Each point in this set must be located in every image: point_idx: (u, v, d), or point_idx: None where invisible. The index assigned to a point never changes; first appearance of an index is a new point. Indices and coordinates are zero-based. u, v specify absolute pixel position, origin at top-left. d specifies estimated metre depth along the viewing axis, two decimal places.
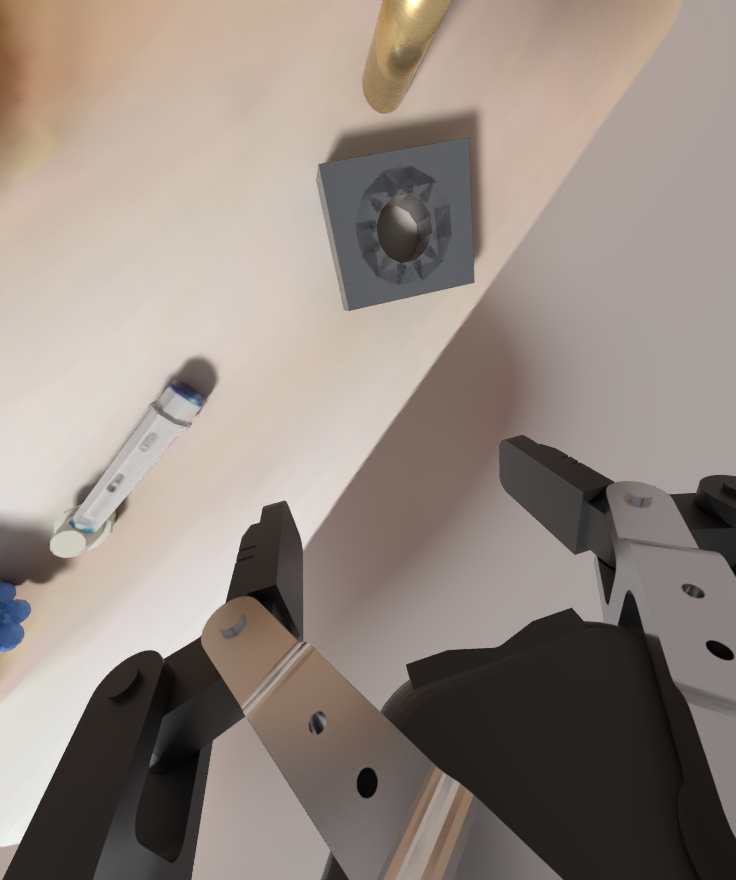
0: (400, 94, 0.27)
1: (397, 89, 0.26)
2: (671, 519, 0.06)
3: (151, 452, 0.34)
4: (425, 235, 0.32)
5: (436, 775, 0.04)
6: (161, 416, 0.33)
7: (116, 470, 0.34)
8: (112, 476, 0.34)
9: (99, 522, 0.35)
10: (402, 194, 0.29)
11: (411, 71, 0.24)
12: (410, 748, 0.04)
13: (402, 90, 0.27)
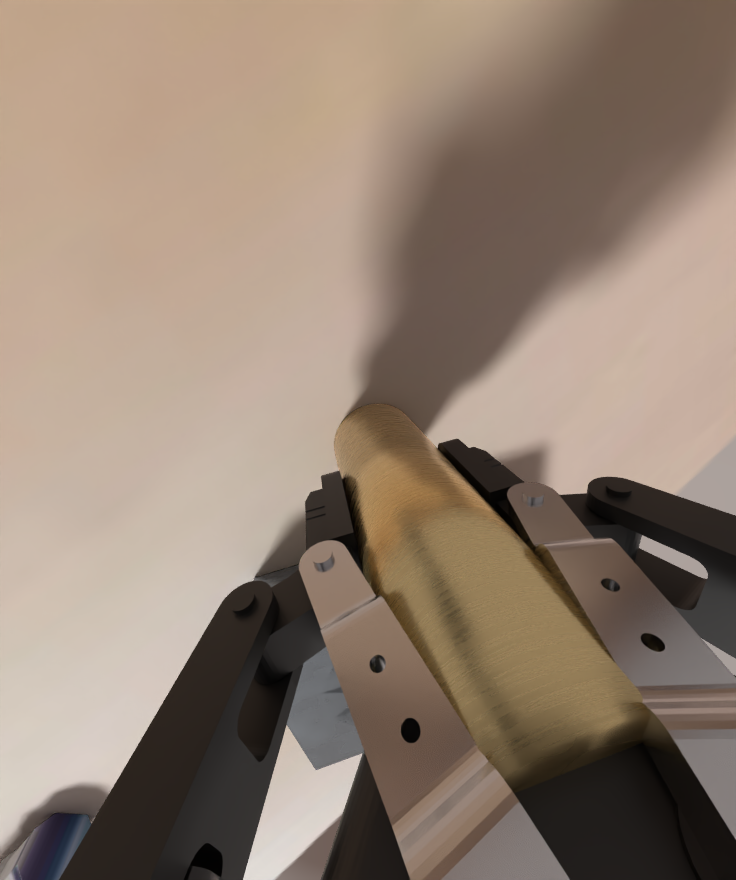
0: None
1: None
2: (552, 517, 0.07)
3: None
4: None
5: (477, 756, 0.04)
6: None
7: None
8: None
9: None
10: None
11: None
12: (457, 721, 0.04)
13: None
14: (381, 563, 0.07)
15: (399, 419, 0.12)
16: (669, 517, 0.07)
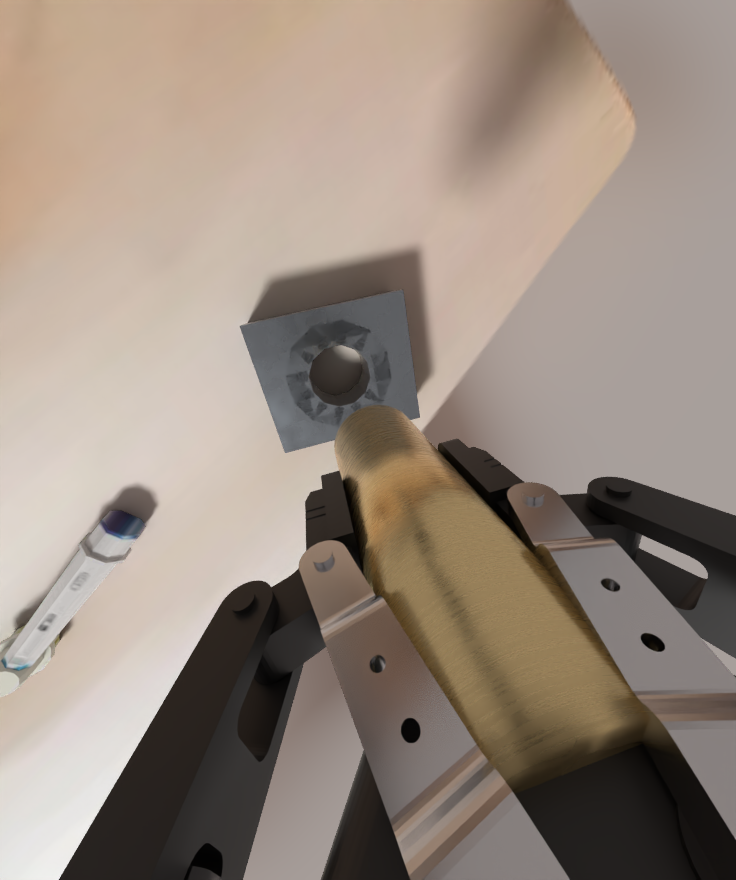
0: None
1: None
2: (552, 517, 0.07)
3: (83, 590, 0.32)
4: (366, 372, 0.31)
5: (477, 756, 0.04)
6: (90, 557, 0.31)
7: (47, 610, 0.32)
8: (42, 616, 0.32)
9: (34, 657, 0.34)
10: (334, 345, 0.27)
11: None
12: (457, 722, 0.04)
13: None
14: (381, 565, 0.07)
15: (399, 420, 0.12)
16: (669, 517, 0.07)
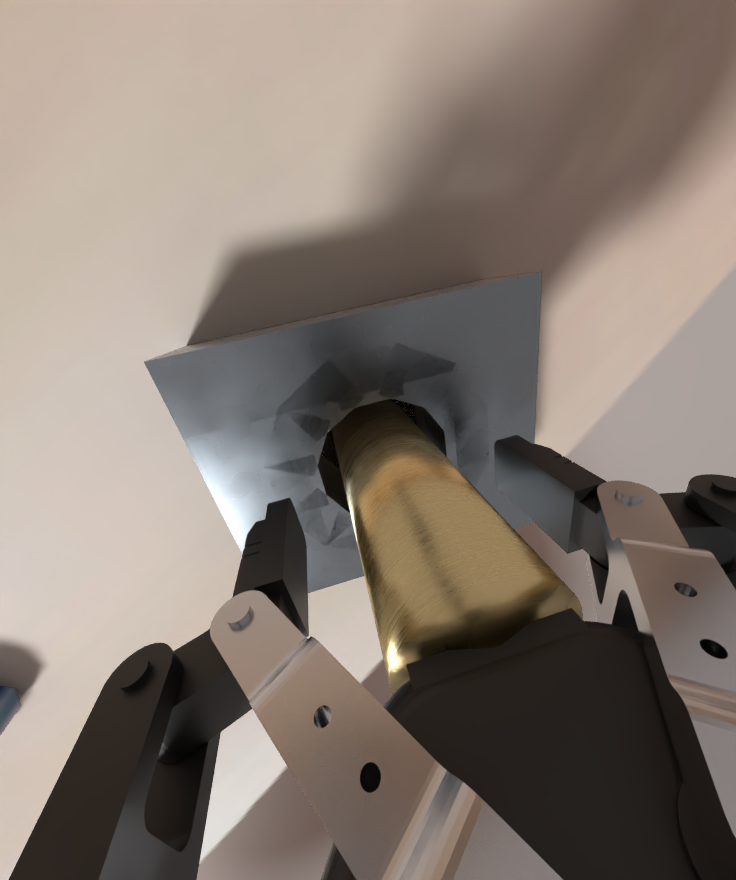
0: None
1: None
2: (660, 518, 0.07)
3: None
4: None
5: (439, 773, 0.04)
6: None
7: None
8: None
9: None
10: (377, 400, 0.12)
11: None
12: (413, 745, 0.04)
13: None
14: (366, 510, 0.09)
15: (388, 405, 0.14)
16: None
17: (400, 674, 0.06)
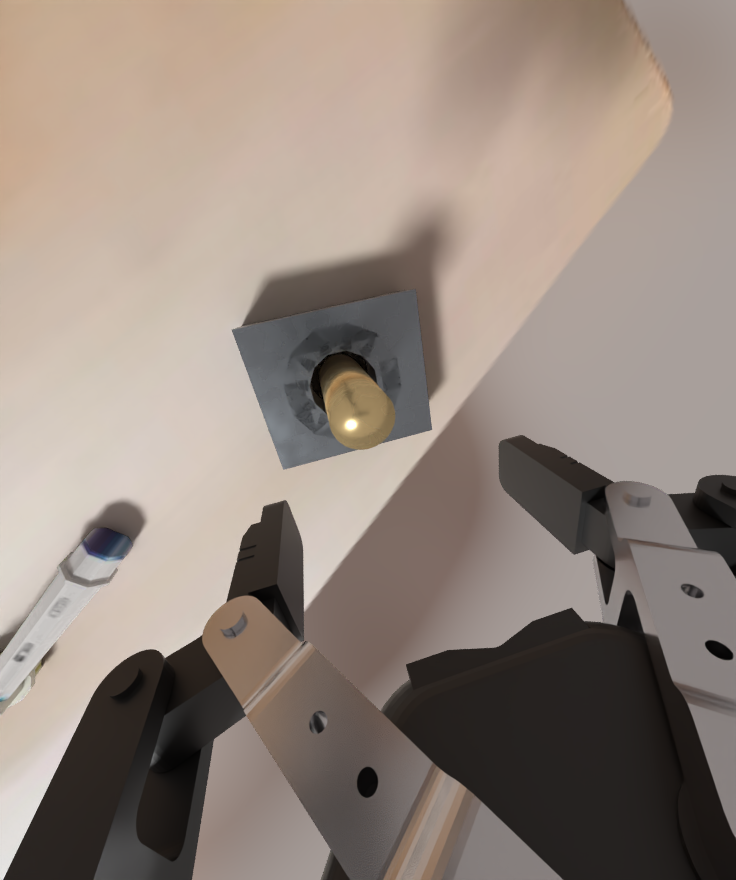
0: None
1: None
2: (670, 519, 0.07)
3: (63, 617, 0.29)
4: None
5: (436, 774, 0.04)
6: (71, 581, 0.28)
7: (23, 639, 0.29)
8: (18, 646, 0.29)
9: (10, 690, 0.31)
10: (338, 351, 0.24)
11: None
12: (410, 747, 0.04)
13: None
14: (328, 388, 0.21)
15: (348, 358, 0.27)
16: None
17: (332, 421, 0.18)
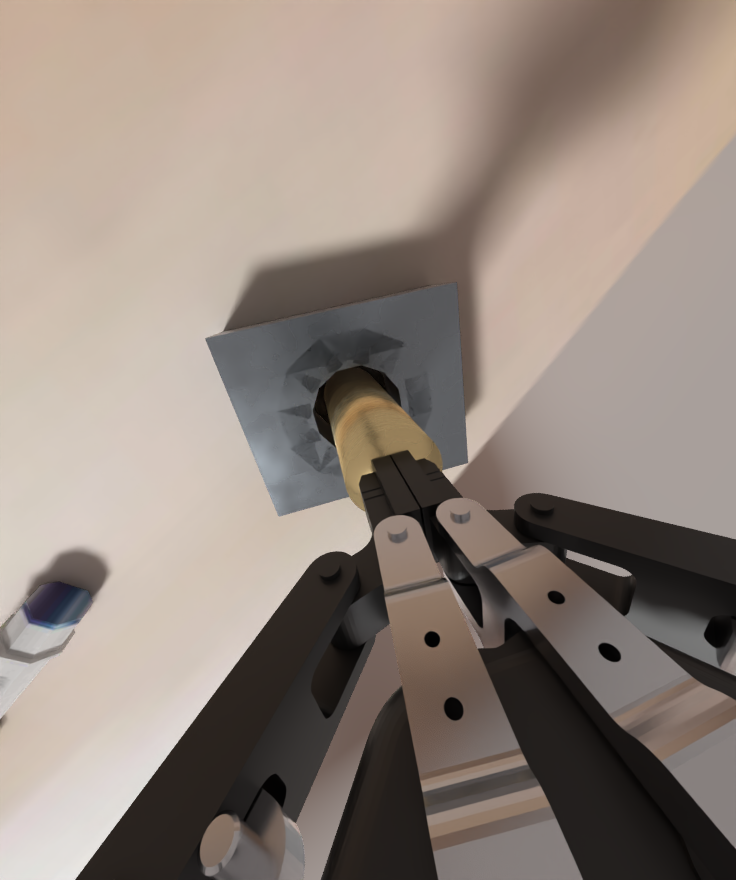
0: None
1: None
2: (472, 535, 0.07)
3: (2, 698, 0.23)
4: (395, 401, 0.22)
5: (519, 760, 0.03)
6: (7, 658, 0.22)
7: None
8: None
9: None
10: (352, 366, 0.18)
11: None
12: (503, 719, 0.04)
13: None
14: (340, 422, 0.15)
15: (362, 373, 0.20)
16: (592, 529, 0.07)
17: (350, 479, 0.12)
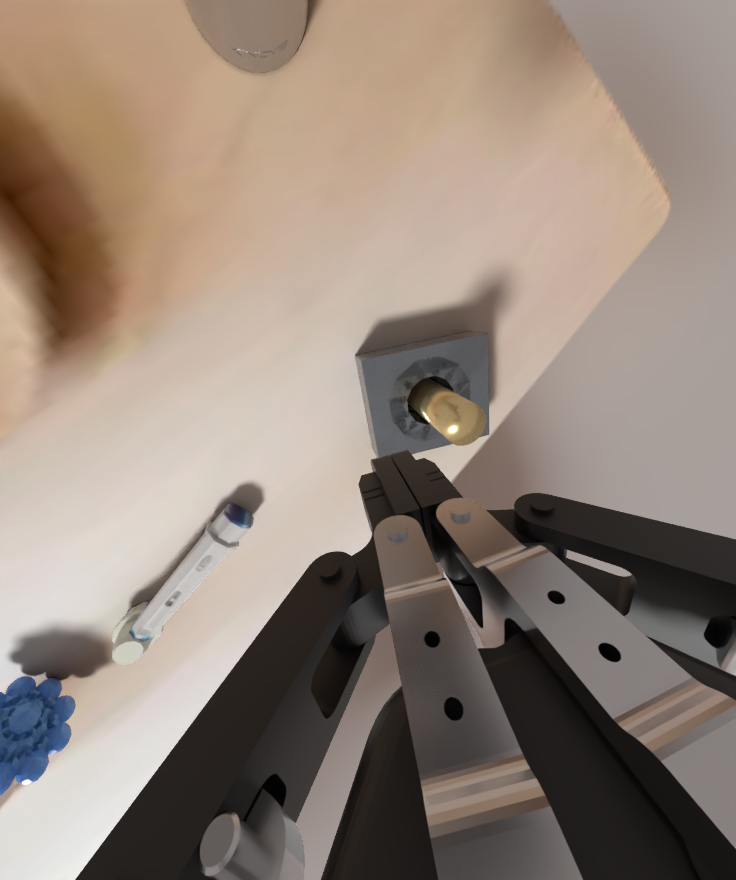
0: None
1: None
2: (472, 535, 0.07)
3: (205, 571, 0.38)
4: None
5: (519, 759, 0.03)
6: (217, 542, 0.36)
7: (174, 588, 0.37)
8: (170, 593, 0.37)
9: (155, 630, 0.39)
10: (430, 376, 0.34)
11: None
12: (503, 719, 0.04)
13: None
14: (432, 403, 0.30)
15: (431, 380, 0.36)
16: (592, 529, 0.07)
17: (446, 425, 0.27)
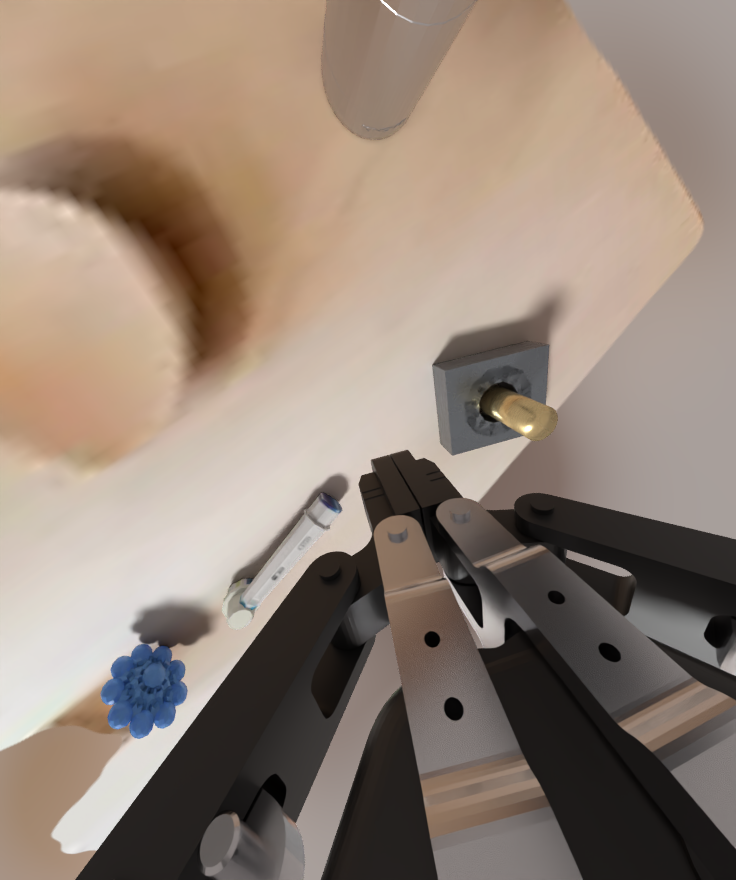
0: None
1: None
2: (472, 535, 0.07)
3: (304, 550, 0.44)
4: None
5: (519, 759, 0.03)
6: (316, 525, 0.43)
7: (280, 564, 0.44)
8: (276, 569, 0.44)
9: (260, 601, 0.46)
10: (499, 381, 0.40)
11: None
12: (503, 719, 0.04)
13: None
14: (508, 406, 0.36)
15: None
16: (592, 529, 0.07)
17: (526, 425, 0.33)
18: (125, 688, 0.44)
